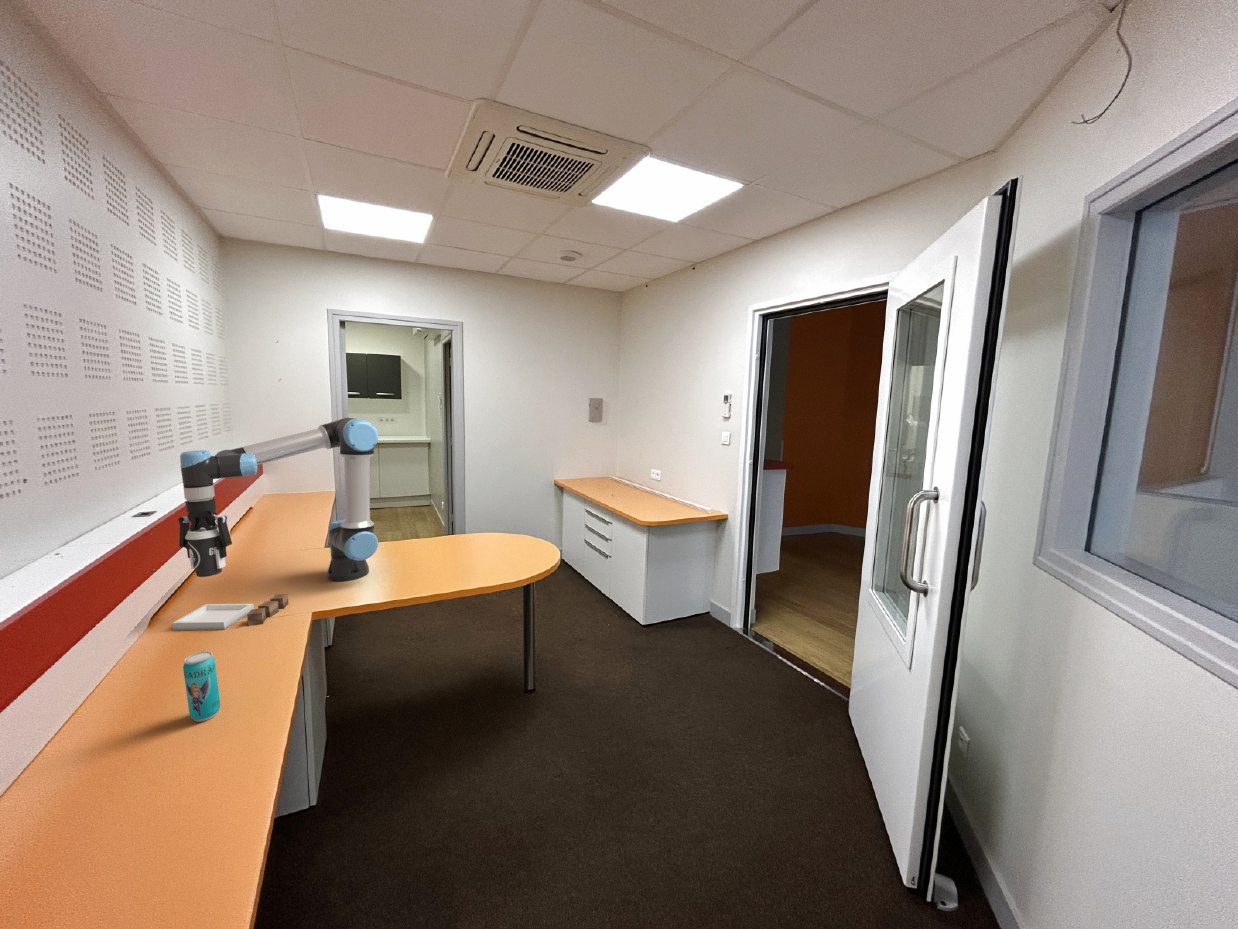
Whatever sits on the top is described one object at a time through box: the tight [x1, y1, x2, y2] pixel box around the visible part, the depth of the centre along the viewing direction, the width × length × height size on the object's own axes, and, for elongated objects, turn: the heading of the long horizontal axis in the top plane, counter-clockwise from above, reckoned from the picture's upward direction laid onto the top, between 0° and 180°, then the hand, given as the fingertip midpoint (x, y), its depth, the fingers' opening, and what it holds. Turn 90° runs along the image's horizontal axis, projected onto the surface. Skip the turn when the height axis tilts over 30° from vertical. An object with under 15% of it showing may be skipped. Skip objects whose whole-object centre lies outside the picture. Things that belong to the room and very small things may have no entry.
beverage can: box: [182, 651, 221, 723], centre depth 121 cm, size 6×6×15 cm
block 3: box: [269, 593, 290, 610], centre depth 181 cm, size 4×4×4 cm
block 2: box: [257, 600, 280, 618], centre depth 176 cm, size 4×4×4 cm
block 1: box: [246, 608, 267, 627], centre depth 170 cm, size 4×4×4 cm
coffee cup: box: [185, 526, 223, 578], centre depth 168 cm, size 10×10×15 cm
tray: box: [171, 603, 255, 631], centre depth 171 cm, size 16×14×2 cm
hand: (208, 567), depth 169 cm, fingers closed on coffee cup, 8 cm apart
